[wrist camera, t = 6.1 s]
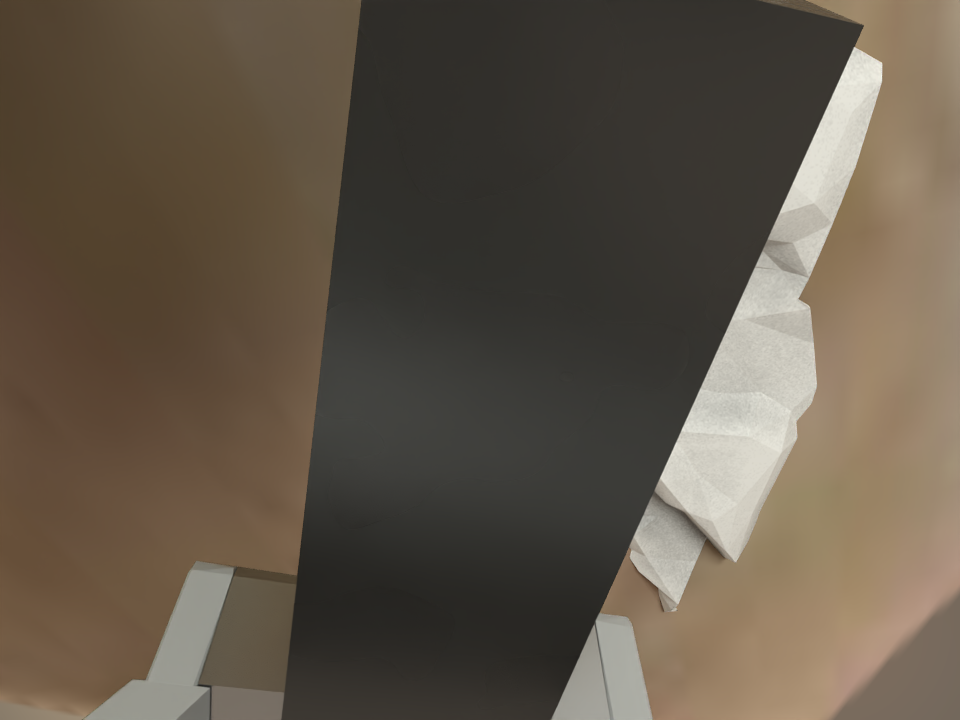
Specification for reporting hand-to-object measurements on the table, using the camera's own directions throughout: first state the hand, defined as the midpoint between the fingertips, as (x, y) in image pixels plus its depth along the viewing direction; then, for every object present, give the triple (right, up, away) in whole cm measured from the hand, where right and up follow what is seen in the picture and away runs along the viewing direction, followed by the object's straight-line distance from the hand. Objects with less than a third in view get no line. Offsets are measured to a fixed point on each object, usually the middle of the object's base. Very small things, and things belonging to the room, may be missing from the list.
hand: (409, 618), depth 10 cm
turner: (0, 0, +2) cm, 2 cm away
